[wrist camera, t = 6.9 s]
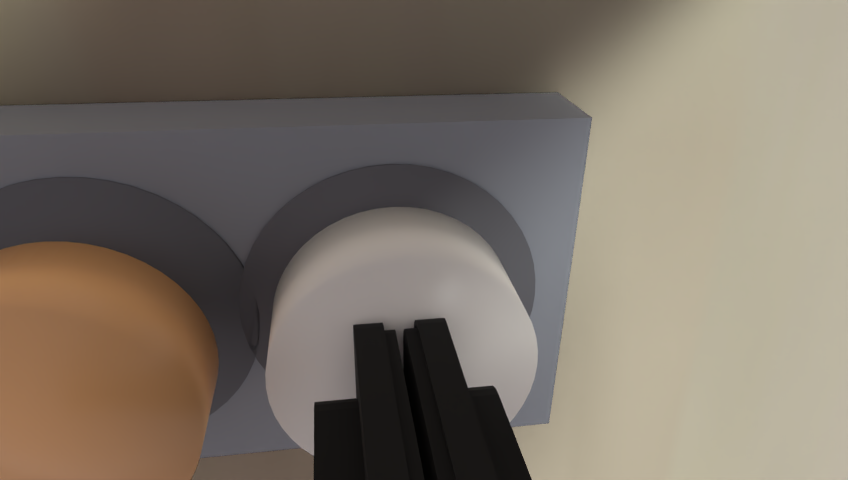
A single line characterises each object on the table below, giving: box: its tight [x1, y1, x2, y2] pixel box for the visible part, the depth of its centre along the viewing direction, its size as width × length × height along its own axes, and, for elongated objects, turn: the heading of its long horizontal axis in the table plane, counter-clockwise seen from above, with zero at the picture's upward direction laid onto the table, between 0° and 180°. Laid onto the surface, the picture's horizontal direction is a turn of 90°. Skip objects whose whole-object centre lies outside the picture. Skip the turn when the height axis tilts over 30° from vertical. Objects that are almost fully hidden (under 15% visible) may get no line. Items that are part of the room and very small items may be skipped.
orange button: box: [0, 242, 219, 480], centre depth 11 cm, size 5×5×2 cm
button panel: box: [0, 92, 592, 458], centre depth 14 cm, size 20×8×2 cm, turn 89°
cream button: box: [265, 207, 538, 456], centre depth 12 cm, size 5×5×2 cm
